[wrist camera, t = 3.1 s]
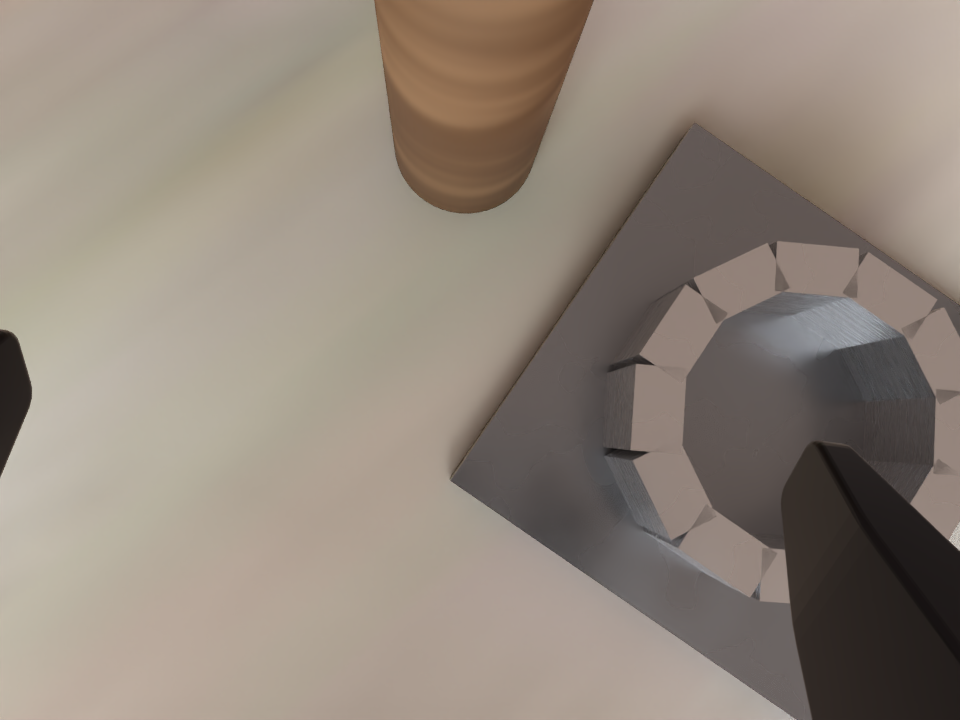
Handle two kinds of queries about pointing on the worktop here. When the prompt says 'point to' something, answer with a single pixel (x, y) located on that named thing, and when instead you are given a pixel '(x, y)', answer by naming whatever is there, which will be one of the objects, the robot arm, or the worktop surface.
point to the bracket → (721, 405)
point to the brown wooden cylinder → (473, 91)
